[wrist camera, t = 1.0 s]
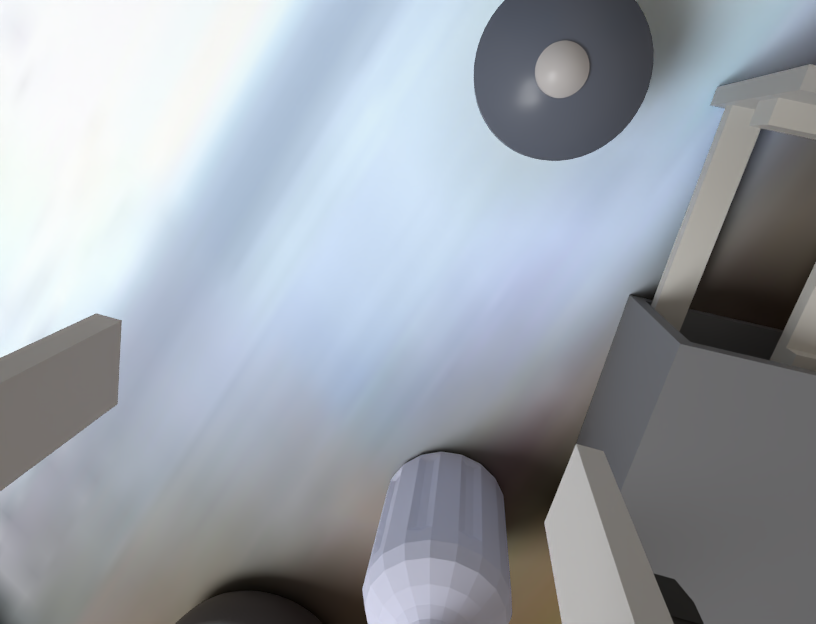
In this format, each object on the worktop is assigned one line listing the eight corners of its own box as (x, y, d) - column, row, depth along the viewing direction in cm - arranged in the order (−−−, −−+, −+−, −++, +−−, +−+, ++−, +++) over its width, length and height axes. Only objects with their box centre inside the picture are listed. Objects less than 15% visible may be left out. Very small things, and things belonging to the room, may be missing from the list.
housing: (629, 294, 34) (680, 343, 26) (942, 367, 33) (1103, 442, 25) (550, 515, 40) (570, 615, 32) (815, 582, 39) (909, 705, 30)
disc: (497, -35, 25) (498, -48, 23) (667, -1, 24) (682, -12, 22) (457, 141, 27) (456, 141, 25) (610, 175, 27) (620, 177, 25)
